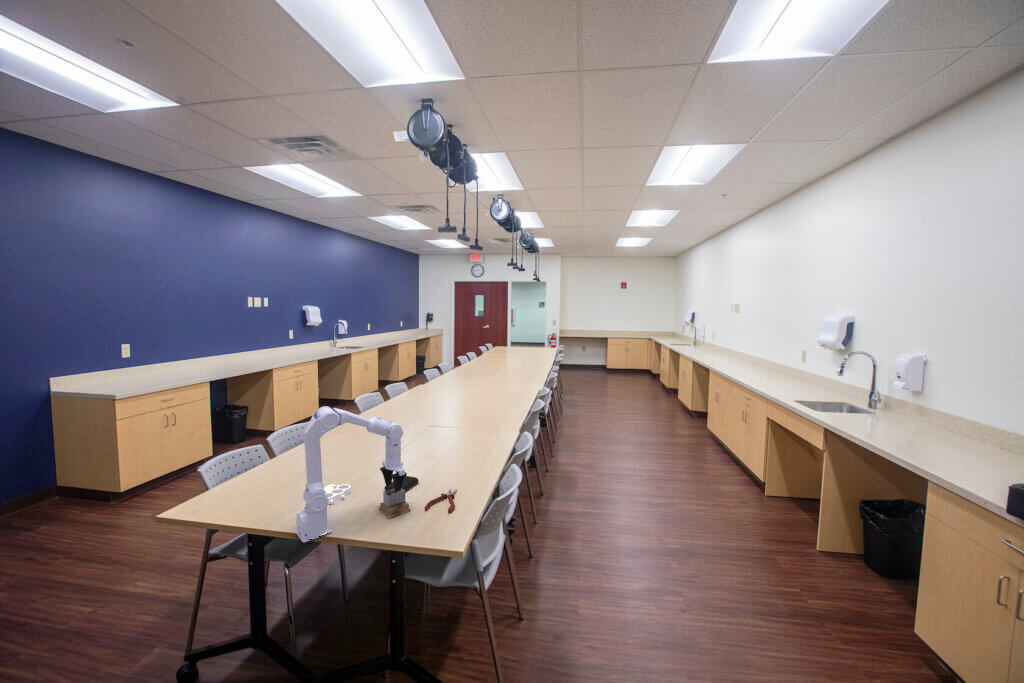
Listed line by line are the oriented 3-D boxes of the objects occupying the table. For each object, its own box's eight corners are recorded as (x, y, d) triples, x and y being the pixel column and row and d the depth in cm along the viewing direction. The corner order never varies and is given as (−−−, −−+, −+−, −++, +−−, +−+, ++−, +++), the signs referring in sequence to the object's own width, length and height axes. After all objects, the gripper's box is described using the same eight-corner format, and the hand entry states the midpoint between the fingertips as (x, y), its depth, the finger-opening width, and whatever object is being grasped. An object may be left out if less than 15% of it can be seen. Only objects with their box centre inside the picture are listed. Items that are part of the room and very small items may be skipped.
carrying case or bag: (400, 479, 191) (380, 492, 178) (400, 473, 191) (380, 485, 177) (420, 483, 188) (401, 496, 174) (420, 476, 188) (401, 489, 174)
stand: (389, 519, 155) (389, 511, 154) (378, 510, 161) (378, 503, 161) (410, 511, 161) (410, 503, 161) (399, 503, 167) (399, 496, 167)
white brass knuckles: (336, 487, 182) (358, 495, 175) (297, 503, 167) (319, 512, 159) (336, 480, 182) (358, 487, 174) (297, 495, 166) (319, 504, 159)
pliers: (466, 493, 179) (466, 487, 179) (451, 515, 159) (451, 509, 159) (441, 490, 181) (441, 484, 181) (423, 512, 161) (423, 506, 161)
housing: (405, 502, 162) (405, 490, 161) (388, 508, 157) (388, 495, 156) (399, 498, 165) (399, 486, 164) (383, 504, 160) (383, 491, 159)
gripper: (411, 456, 157) (411, 490, 158) (393, 446, 167) (393, 479, 168) (395, 460, 152) (395, 496, 153) (377, 450, 162) (377, 484, 163)
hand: (393, 487), depth 160 cm, fingers open, 7 cm apart
